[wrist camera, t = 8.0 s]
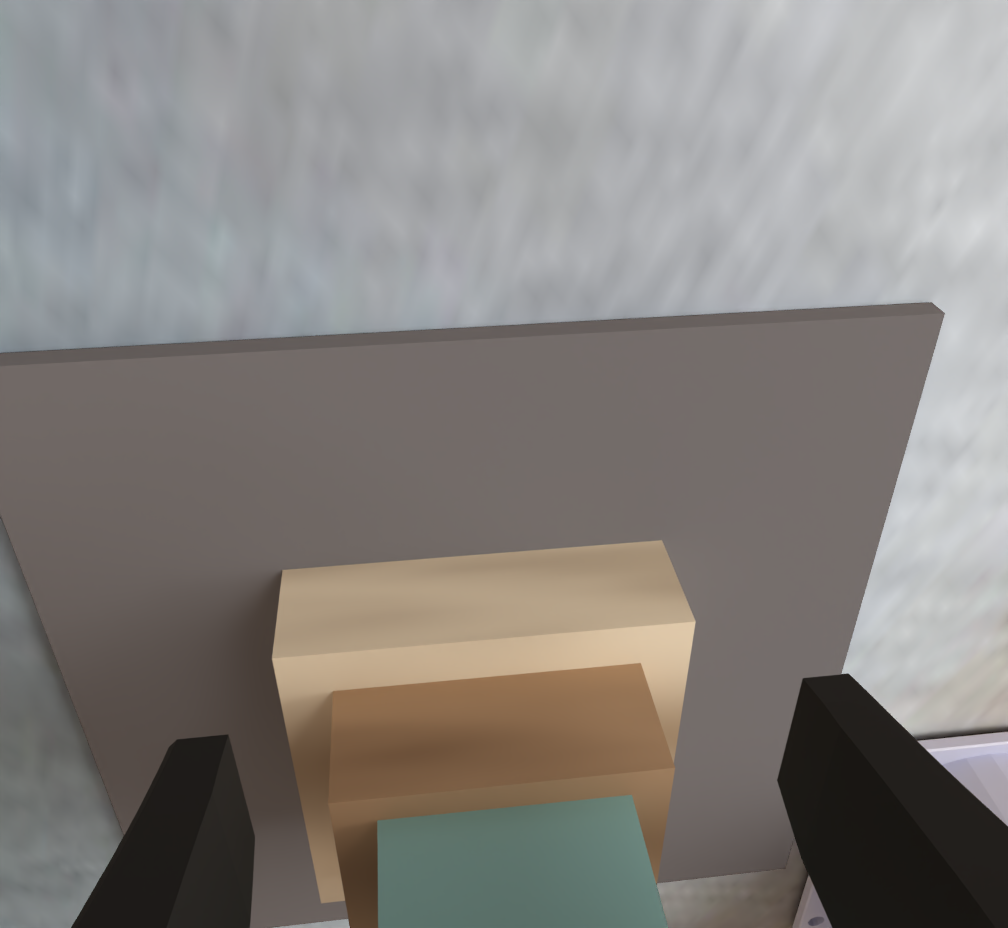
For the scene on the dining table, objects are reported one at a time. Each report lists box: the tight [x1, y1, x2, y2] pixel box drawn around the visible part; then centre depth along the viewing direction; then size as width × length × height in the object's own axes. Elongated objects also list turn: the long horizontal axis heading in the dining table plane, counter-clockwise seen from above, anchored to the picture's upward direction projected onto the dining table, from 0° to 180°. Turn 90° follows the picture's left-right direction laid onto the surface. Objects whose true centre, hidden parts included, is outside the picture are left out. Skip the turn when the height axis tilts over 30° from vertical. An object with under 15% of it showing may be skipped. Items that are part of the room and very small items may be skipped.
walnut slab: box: [328, 663, 675, 928], centre depth 19 cm, size 6×6×2 cm
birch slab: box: [272, 540, 696, 903], centre depth 21 cm, size 8×8×2 cm
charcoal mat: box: [0, 302, 945, 928], centre depth 22 cm, size 18×18×1 cm
